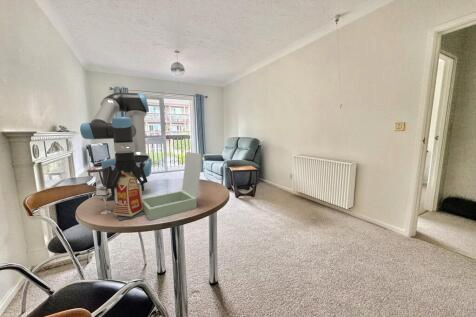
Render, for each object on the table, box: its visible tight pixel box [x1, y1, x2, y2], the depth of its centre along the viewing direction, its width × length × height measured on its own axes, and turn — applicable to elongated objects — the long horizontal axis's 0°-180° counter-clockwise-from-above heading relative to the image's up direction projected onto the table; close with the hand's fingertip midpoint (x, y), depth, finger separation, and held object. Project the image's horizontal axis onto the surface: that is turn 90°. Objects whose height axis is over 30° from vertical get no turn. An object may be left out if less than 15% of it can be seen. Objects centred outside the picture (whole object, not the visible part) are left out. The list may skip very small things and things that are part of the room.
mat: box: [116, 210, 145, 222], centre depth 92 cm, size 10×10×1 cm
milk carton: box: [113, 171, 143, 216], centre depth 91 cm, size 9×9×20 cm
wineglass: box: [95, 186, 113, 215], centre depth 95 cm, size 7×7×12 cm
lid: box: [181, 151, 205, 199], centre depth 106 cm, size 18×22×2 cm
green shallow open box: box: [142, 190, 197, 221], centre depth 99 cm, size 18×22×5 cm
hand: (129, 200), depth 92 cm, fingers closed on milk carton, 9 cm apart
